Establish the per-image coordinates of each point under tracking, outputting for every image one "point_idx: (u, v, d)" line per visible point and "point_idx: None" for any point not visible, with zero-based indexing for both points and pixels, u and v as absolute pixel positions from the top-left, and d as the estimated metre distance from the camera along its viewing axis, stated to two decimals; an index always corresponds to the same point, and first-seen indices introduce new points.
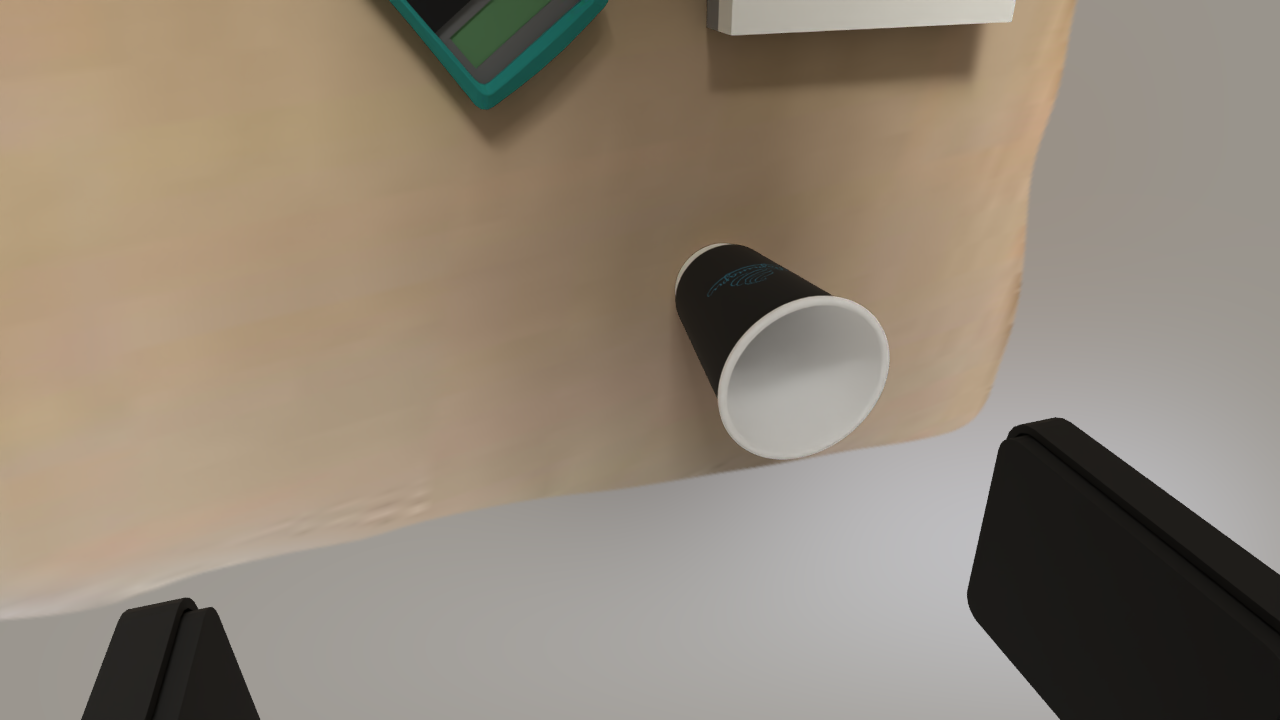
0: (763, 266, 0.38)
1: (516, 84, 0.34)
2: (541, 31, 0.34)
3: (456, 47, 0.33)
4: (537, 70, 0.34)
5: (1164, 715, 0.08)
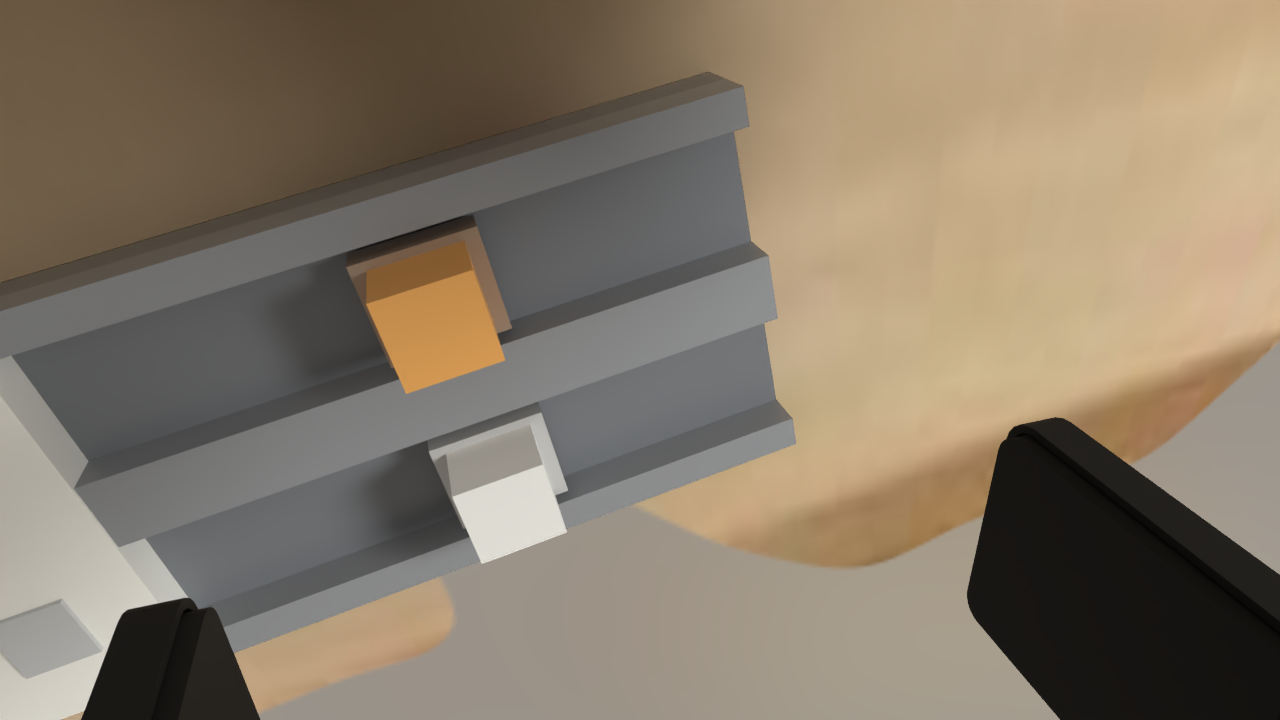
0: None
1: None
2: None
3: None
4: None
5: (1163, 715, 0.08)
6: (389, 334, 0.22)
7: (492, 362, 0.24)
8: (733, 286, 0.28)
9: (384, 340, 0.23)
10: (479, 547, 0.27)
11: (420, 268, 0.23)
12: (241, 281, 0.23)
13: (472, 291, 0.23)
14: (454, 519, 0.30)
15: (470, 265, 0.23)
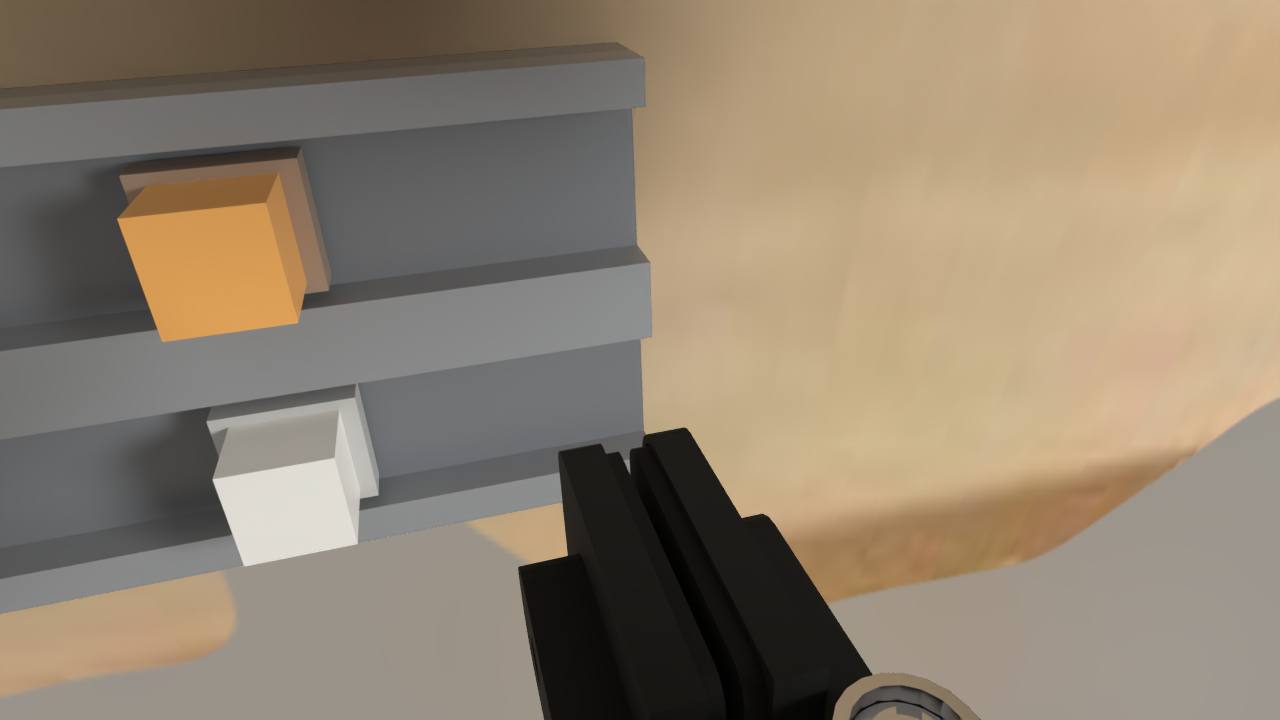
0: None
1: None
2: None
3: None
4: None
5: None
6: (146, 263, 0.18)
7: (280, 322, 0.19)
8: (604, 290, 0.24)
9: (138, 269, 0.18)
10: (243, 546, 0.22)
11: (208, 192, 0.19)
12: None
13: (263, 229, 0.18)
14: None
15: (266, 197, 0.18)
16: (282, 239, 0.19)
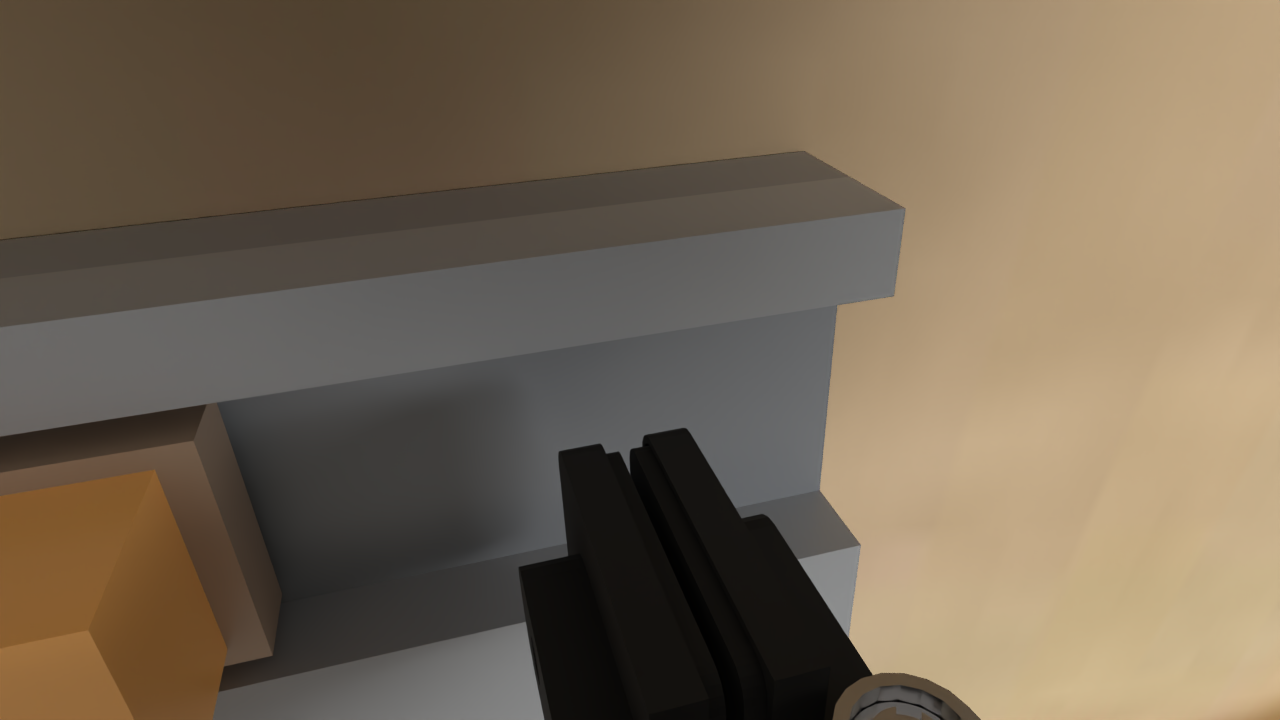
0: None
1: None
2: None
3: None
4: None
5: None
6: None
7: None
8: None
9: None
10: None
11: None
12: None
13: (86, 681, 0.08)
14: None
15: (97, 600, 0.08)
16: (150, 652, 0.09)
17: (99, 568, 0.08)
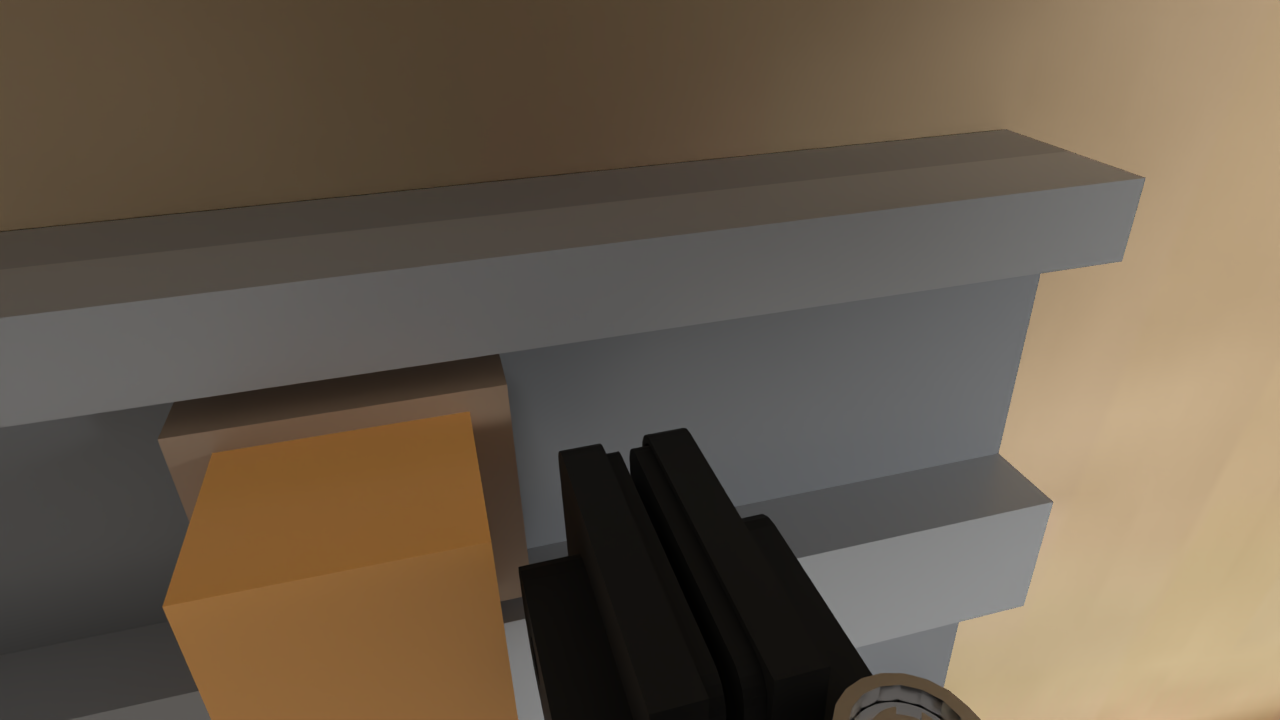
0: None
1: None
2: None
3: None
4: None
5: None
6: (223, 679, 0.08)
7: None
8: (975, 548, 0.14)
9: (204, 692, 0.08)
10: None
11: (348, 486, 0.09)
12: None
13: (477, 590, 0.08)
14: None
15: (484, 518, 0.08)
16: None
17: (470, 492, 0.09)
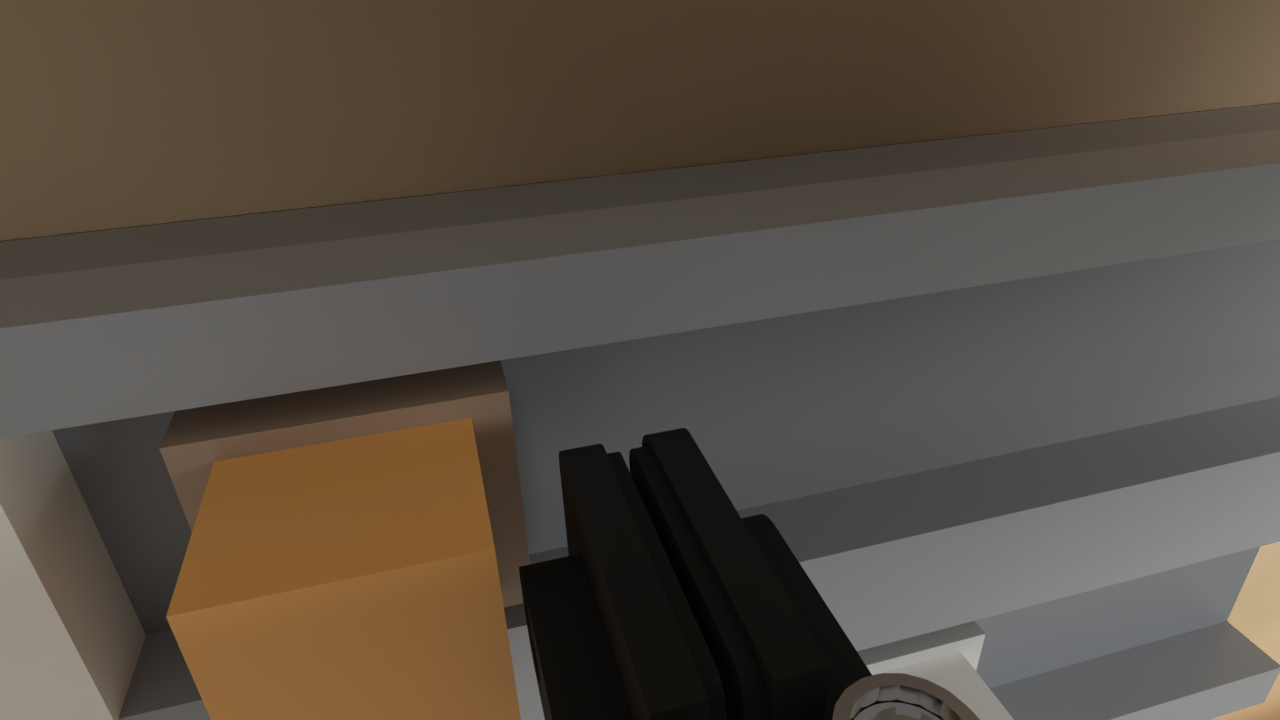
0: None
1: None
2: None
3: None
4: None
5: None
6: (226, 688, 0.08)
7: None
8: None
9: (208, 701, 0.08)
10: None
11: (351, 494, 0.09)
12: (623, 336, 0.10)
13: (481, 597, 0.08)
14: None
15: (487, 525, 0.08)
16: None
17: (472, 498, 0.09)
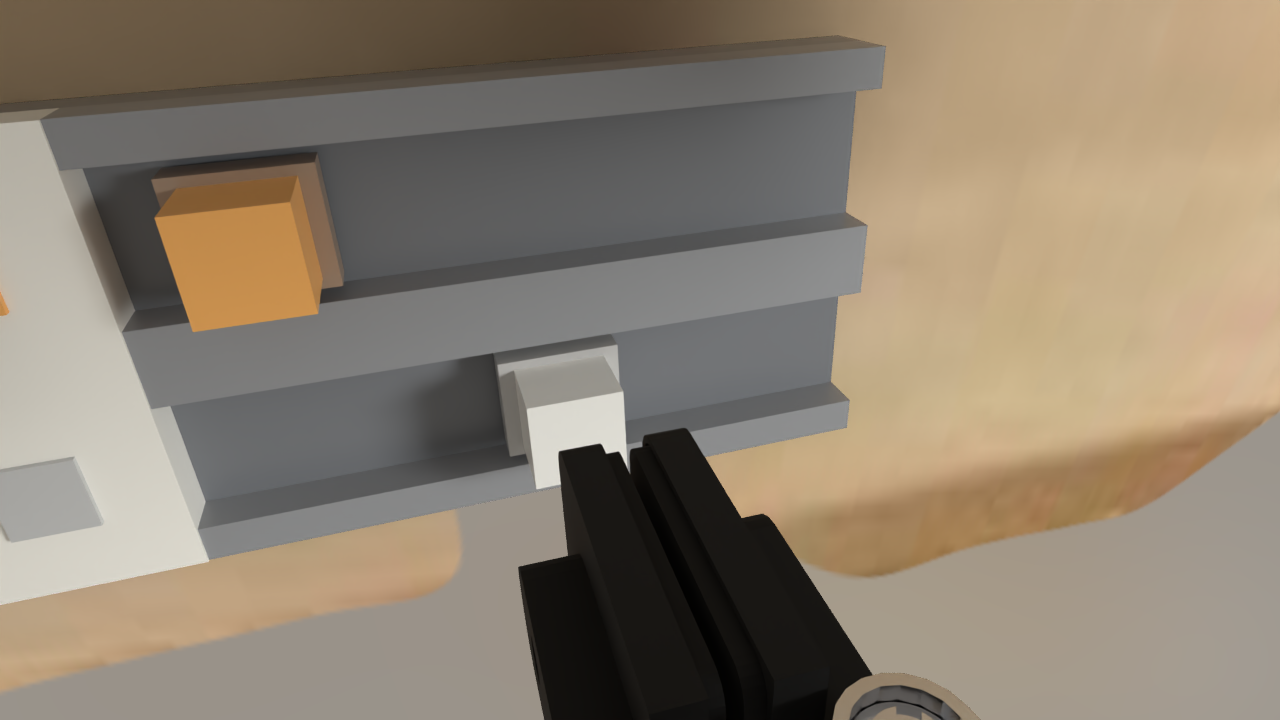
0: None
1: None
2: None
3: None
4: None
5: None
6: (179, 258, 0.20)
7: (301, 313, 0.21)
8: (828, 250, 0.28)
9: (171, 264, 0.20)
10: (538, 470, 0.25)
11: (235, 193, 0.20)
12: (358, 137, 0.22)
13: (286, 226, 0.20)
14: (496, 449, 0.29)
15: (290, 197, 0.20)
16: (303, 236, 0.21)
17: (287, 192, 0.20)
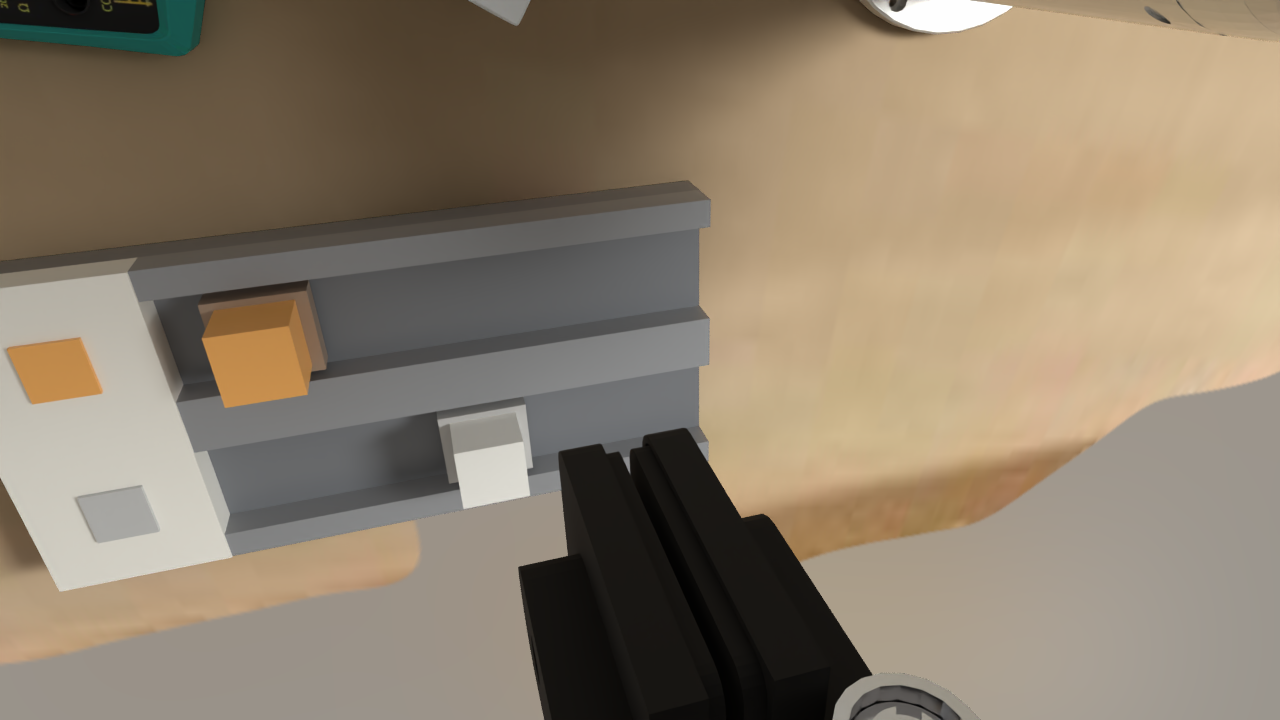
0: None
1: None
2: None
3: None
4: None
5: None
6: (217, 362, 0.30)
7: (296, 394, 0.32)
8: (681, 336, 0.38)
9: (212, 366, 0.30)
10: (464, 496, 0.36)
11: (253, 316, 0.31)
12: (336, 274, 0.32)
13: (286, 341, 0.30)
14: (441, 476, 0.40)
15: (288, 322, 0.30)
16: (297, 344, 0.31)
17: (287, 317, 0.31)
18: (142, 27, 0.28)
